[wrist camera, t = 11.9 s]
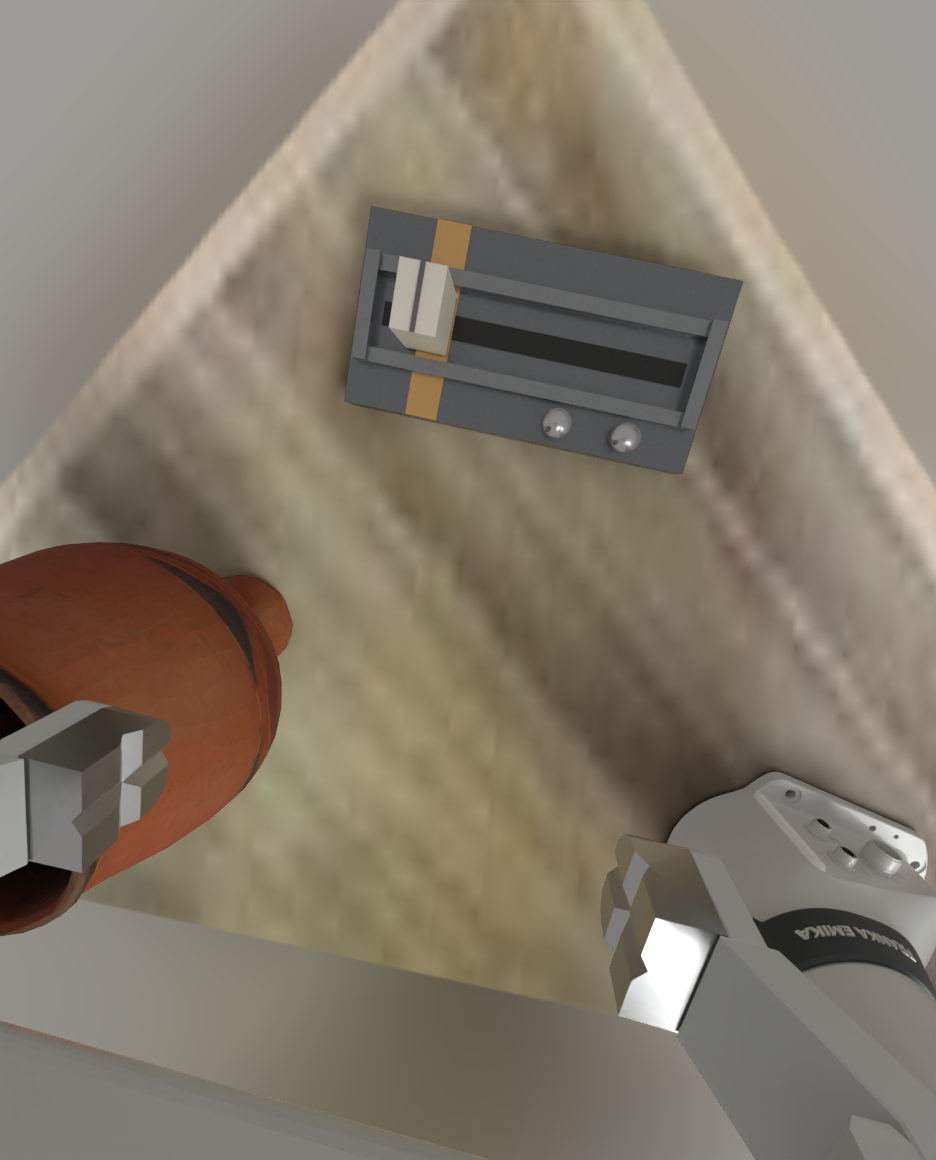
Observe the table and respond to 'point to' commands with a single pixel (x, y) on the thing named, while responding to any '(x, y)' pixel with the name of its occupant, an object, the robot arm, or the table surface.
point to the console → (544, 342)
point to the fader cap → (423, 305)
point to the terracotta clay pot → (140, 685)
